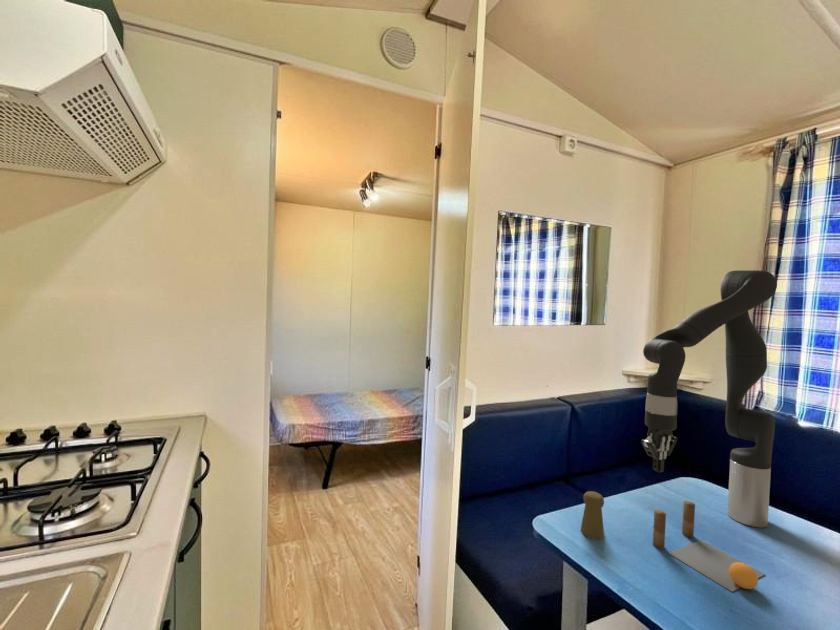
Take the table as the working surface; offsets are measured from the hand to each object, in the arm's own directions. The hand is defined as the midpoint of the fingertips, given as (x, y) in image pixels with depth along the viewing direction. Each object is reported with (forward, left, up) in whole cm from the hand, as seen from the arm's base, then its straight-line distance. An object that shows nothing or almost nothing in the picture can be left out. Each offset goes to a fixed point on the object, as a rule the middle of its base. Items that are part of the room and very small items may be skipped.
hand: (658, 471), depth 106 cm
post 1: (+6, +5, -17) cm, 19 cm away
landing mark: (0, +15, -17) cm, 23 cm away
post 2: (-6, +5, -17) cm, 19 cm away
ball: (+3, +22, -14) cm, 26 cm away
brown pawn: (+18, -6, -17) cm, 26 cm away
